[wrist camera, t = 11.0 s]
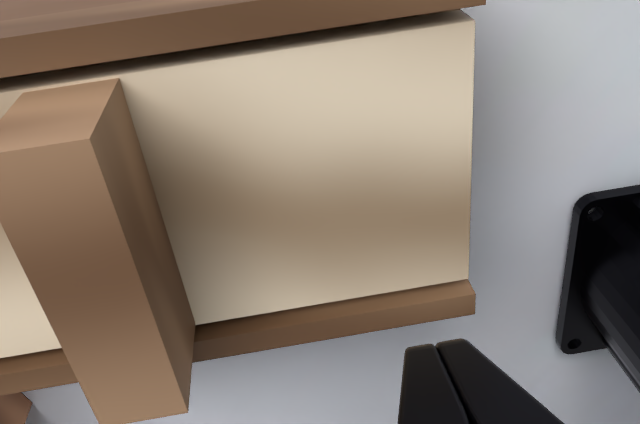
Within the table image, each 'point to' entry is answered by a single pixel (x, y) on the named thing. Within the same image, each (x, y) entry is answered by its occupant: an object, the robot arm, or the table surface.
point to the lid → (227, 194)
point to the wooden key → (14, 408)
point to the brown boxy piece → (189, 34)
